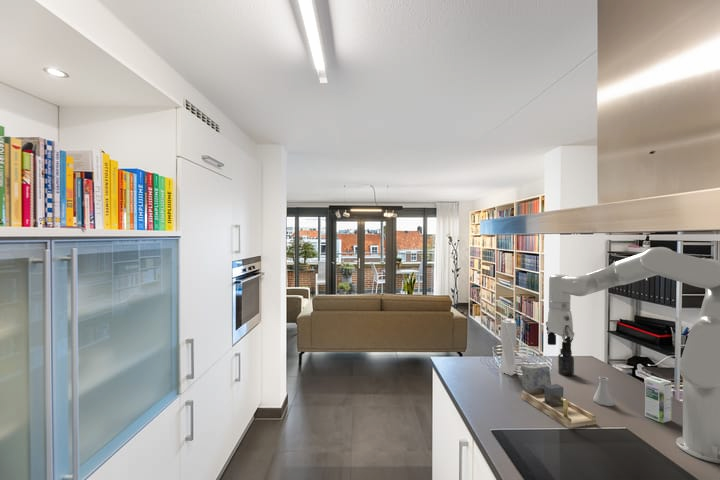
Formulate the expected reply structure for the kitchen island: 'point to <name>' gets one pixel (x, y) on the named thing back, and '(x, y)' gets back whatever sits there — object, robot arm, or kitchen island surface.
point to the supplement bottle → (566, 364)
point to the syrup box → (658, 399)
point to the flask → (603, 393)
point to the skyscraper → (508, 346)
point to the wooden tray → (558, 408)
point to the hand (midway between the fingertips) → (558, 348)
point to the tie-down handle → (553, 395)
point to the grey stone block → (535, 375)
